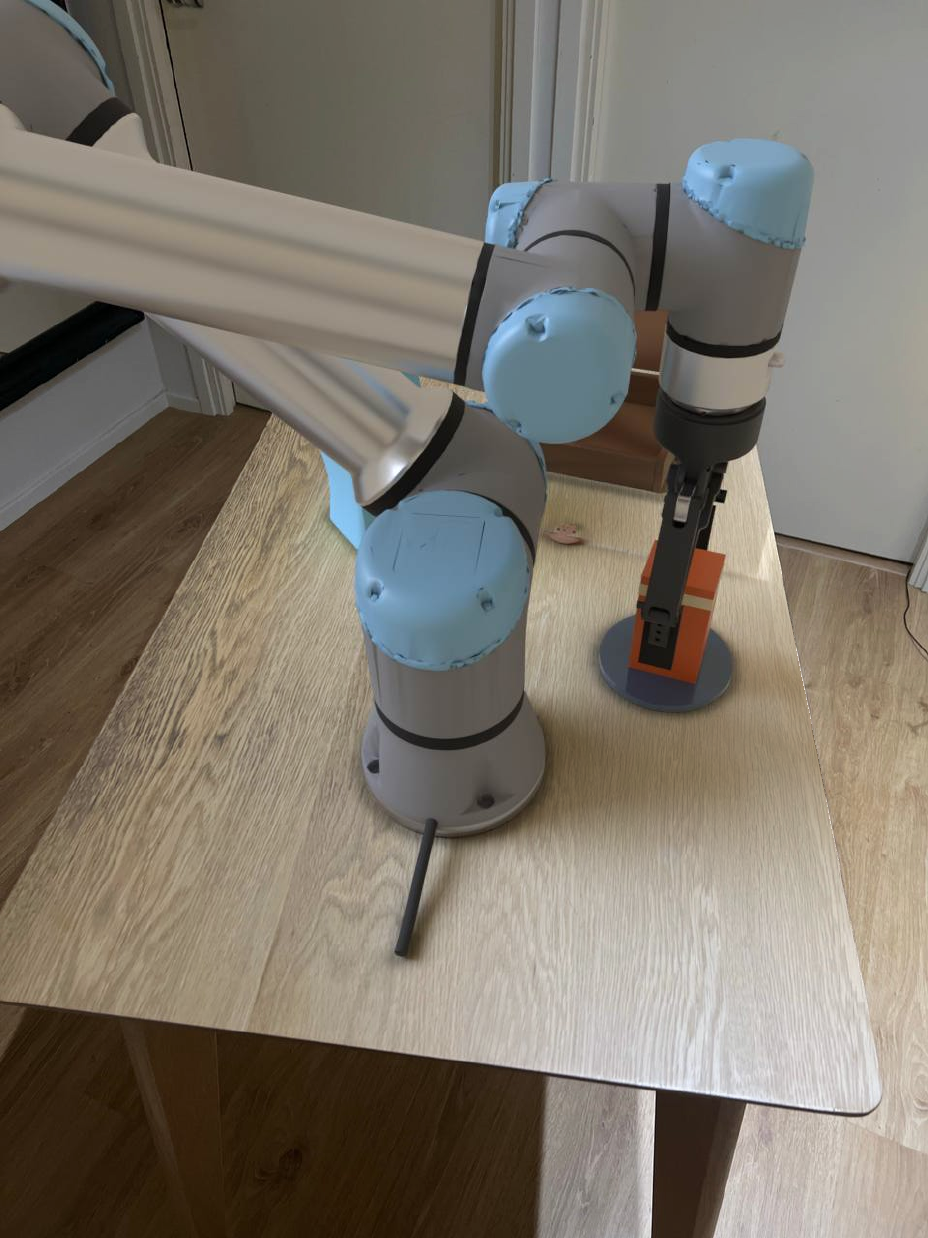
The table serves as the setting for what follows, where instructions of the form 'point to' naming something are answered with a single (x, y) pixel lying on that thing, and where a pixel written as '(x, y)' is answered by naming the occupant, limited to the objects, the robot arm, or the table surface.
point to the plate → (658, 688)
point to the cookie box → (685, 615)
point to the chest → (619, 444)
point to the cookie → (565, 534)
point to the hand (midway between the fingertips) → (673, 610)
